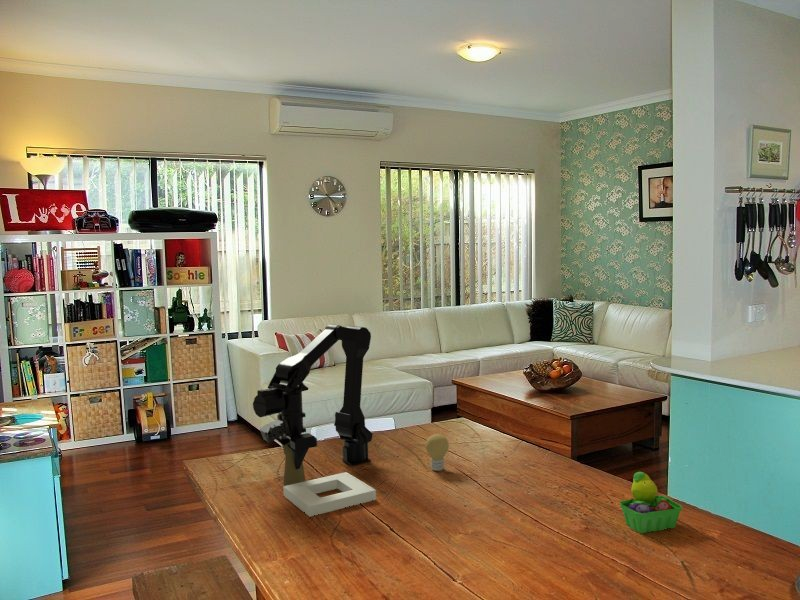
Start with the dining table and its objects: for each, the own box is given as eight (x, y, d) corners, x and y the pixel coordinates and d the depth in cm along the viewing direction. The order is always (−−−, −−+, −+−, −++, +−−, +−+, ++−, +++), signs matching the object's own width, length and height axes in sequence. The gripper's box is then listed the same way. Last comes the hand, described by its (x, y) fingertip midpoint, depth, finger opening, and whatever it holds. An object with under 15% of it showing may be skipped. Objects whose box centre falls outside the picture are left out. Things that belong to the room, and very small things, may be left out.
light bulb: (449, 465, 192) (448, 431, 191) (448, 473, 185) (448, 438, 184) (426, 465, 192) (426, 431, 191) (425, 473, 186) (424, 438, 185)
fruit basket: (638, 537, 144) (638, 485, 143) (614, 521, 152) (614, 472, 151) (684, 529, 147) (684, 479, 146) (658, 514, 155) (658, 466, 154)
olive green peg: (278, 485, 180) (276, 444, 179) (292, 477, 185) (290, 438, 184) (297, 488, 177) (295, 447, 176) (310, 480, 183) (308, 441, 182)
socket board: (346, 481, 182) (346, 472, 181) (376, 499, 168) (375, 489, 168) (283, 495, 172) (283, 486, 172) (309, 516, 159) (309, 506, 158)
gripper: (250, 407, 183) (253, 463, 185) (276, 421, 167) (278, 483, 169) (288, 401, 189) (291, 455, 190) (317, 414, 173) (319, 473, 175)
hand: (293, 466), depth 181 cm, fingers closed on olive green peg, 4 cm apart
